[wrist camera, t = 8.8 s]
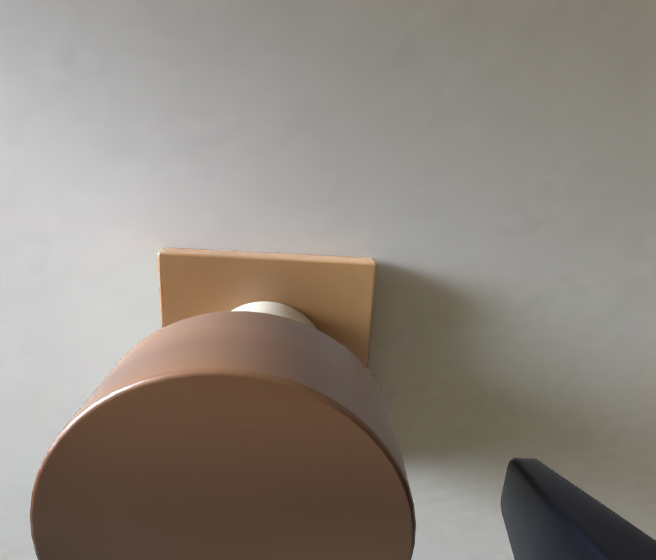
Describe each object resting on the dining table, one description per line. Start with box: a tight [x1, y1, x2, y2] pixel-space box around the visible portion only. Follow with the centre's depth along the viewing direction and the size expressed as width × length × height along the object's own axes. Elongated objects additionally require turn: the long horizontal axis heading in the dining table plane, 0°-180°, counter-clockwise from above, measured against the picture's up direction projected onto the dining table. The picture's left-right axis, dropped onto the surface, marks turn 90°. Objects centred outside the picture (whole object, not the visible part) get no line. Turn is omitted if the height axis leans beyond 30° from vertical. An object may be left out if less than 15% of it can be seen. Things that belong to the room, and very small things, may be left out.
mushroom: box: [30, 301, 416, 560], centre depth 9 cm, size 5×5×6 cm
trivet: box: [158, 248, 377, 368], centre depth 12 cm, size 5×5×1 cm
